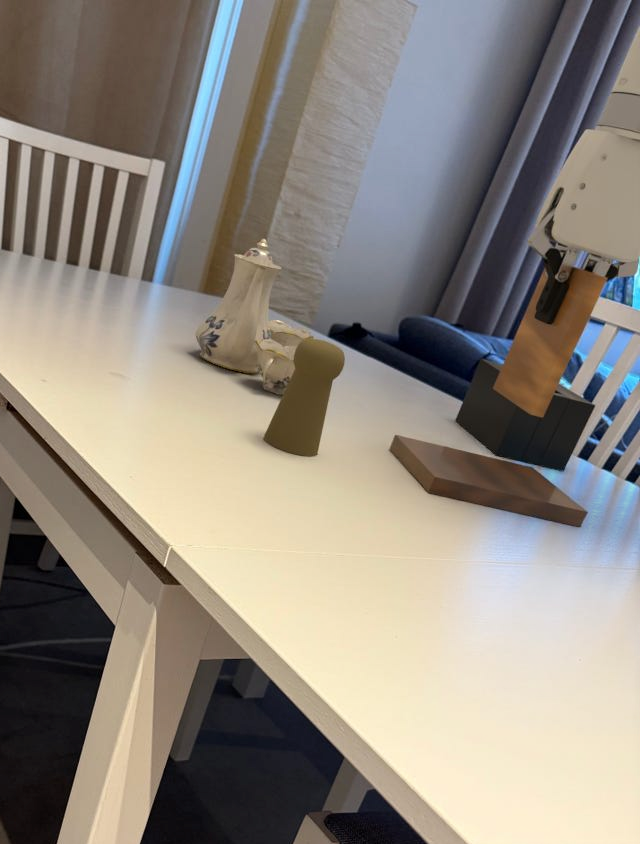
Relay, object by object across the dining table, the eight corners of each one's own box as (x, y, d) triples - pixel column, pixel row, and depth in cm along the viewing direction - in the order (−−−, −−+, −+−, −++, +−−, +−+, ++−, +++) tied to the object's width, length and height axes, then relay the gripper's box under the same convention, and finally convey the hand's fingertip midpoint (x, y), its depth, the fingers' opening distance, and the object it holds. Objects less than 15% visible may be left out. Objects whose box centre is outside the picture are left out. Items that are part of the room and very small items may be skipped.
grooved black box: (524, 437, 135) (552, 377, 131) (571, 473, 122) (604, 407, 118) (454, 420, 133) (480, 358, 129) (495, 455, 120) (525, 387, 116)
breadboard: (526, 481, 112) (532, 467, 111) (580, 527, 100) (588, 512, 99) (389, 449, 108) (394, 434, 107) (428, 492, 96) (435, 476, 95)
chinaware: (314, 422, 117) (373, 291, 109) (191, 376, 114) (243, 238, 106) (288, 371, 141) (335, 261, 134) (186, 331, 139) (228, 217, 131)
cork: (321, 460, 96) (358, 356, 91) (266, 446, 96) (300, 340, 91) (313, 443, 102) (348, 343, 97) (261, 429, 101) (292, 328, 96)
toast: (504, 391, 104) (561, 262, 97) (543, 418, 95) (608, 277, 89) (492, 388, 104) (548, 258, 97) (530, 414, 95) (594, 273, 88)
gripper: (689, 148, 91) (600, 334, 100) (549, 102, 88) (470, 298, 97) (735, 152, 85) (636, 350, 94) (586, 102, 82) (498, 312, 91)
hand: (552, 322), depth 95 cm, fingers closed on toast, 1 cm apart
